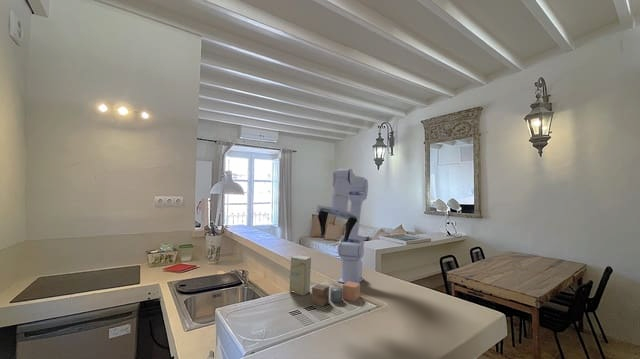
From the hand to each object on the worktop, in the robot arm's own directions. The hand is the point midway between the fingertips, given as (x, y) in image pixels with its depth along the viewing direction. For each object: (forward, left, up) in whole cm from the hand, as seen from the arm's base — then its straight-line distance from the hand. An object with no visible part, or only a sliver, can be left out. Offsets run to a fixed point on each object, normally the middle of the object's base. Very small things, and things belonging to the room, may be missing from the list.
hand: (334, 238), depth 78 cm
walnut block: (-1, -5, -21) cm, 21 cm away
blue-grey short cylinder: (-5, -1, -21) cm, 22 cm away
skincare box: (-5, -15, -21) cm, 27 cm away
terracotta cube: (-10, +2, -21) cm, 23 cm away
